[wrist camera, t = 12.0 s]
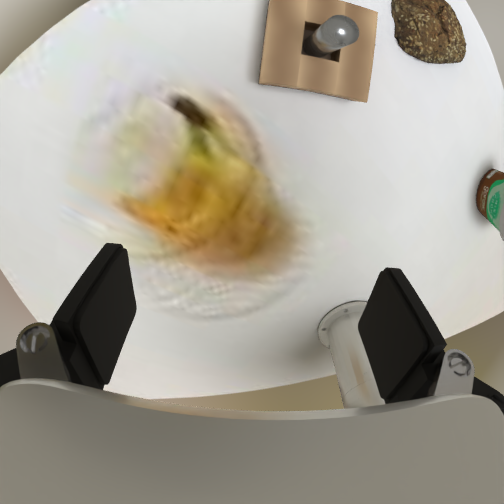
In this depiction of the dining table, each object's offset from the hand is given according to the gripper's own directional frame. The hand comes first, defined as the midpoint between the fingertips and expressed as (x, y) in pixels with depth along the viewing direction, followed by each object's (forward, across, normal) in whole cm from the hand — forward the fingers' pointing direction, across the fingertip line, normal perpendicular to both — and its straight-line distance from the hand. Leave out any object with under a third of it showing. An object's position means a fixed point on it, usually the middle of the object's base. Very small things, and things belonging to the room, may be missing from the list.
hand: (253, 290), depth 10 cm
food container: (+28, -41, 0) cm, 50 cm away
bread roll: (+29, -22, -24) cm, 43 cm away
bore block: (+28, -6, -14) cm, 32 cm away
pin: (+27, -6, -14) cm, 31 cm away
